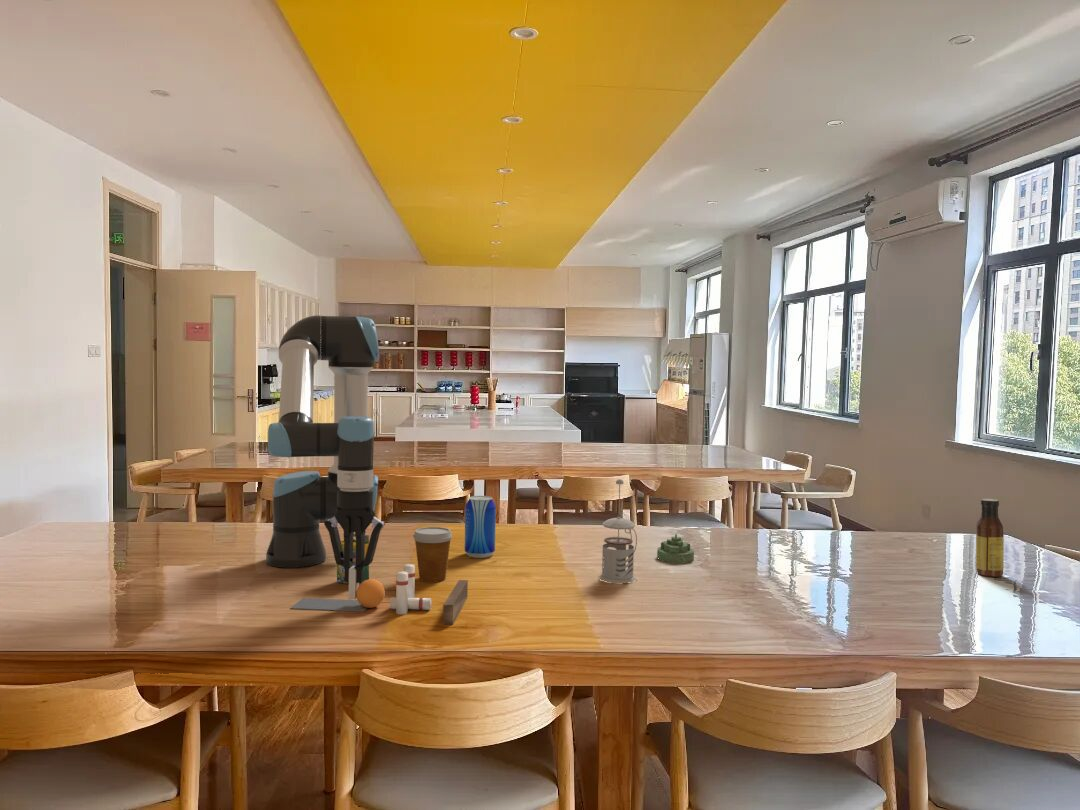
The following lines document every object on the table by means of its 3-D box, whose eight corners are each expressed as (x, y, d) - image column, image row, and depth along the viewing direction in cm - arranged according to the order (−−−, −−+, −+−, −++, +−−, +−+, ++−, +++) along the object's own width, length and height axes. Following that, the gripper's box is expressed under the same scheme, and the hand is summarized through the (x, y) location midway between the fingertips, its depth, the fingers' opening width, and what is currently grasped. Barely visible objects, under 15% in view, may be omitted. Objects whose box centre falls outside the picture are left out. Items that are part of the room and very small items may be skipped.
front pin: (389, 604, 162) (429, 605, 162) (391, 594, 164) (430, 595, 164) (390, 611, 164) (430, 612, 163) (392, 601, 166) (431, 602, 165)
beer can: (493, 559, 207) (494, 500, 206) (462, 558, 207) (463, 500, 207) (496, 551, 216) (496, 495, 215) (466, 550, 216) (467, 494, 215)
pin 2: (401, 605, 166) (402, 566, 166) (404, 601, 169) (404, 563, 168) (413, 605, 166) (413, 567, 166) (415, 602, 168) (416, 564, 168)
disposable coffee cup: (459, 576, 190) (459, 528, 189) (438, 586, 181) (438, 536, 180) (426, 571, 194) (427, 524, 193) (404, 581, 185) (405, 532, 184)
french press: (589, 578, 190) (591, 478, 189) (617, 569, 199) (620, 474, 197) (621, 586, 183) (623, 483, 182) (649, 577, 192) (651, 478, 191)
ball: (360, 577, 162) (380, 596, 160) (375, 570, 167) (394, 588, 166) (345, 598, 163) (365, 617, 162) (361, 590, 169) (380, 608, 167)
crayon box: (336, 583, 182) (336, 534, 182) (343, 579, 185) (343, 532, 185) (362, 586, 180) (362, 537, 179) (369, 583, 183) (369, 535, 182)
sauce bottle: (1005, 574, 200) (1009, 499, 199) (999, 579, 196) (1003, 502, 195) (977, 570, 205) (981, 496, 204) (971, 574, 200) (975, 499, 199)
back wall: (443, 624, 155) (443, 604, 154) (458, 597, 173) (458, 579, 172) (452, 624, 155) (453, 605, 154) (467, 597, 172) (467, 580, 172)
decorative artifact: (654, 561, 208) (691, 565, 205) (654, 536, 208) (691, 539, 205) (660, 553, 218) (695, 556, 215) (661, 529, 218) (696, 532, 214)
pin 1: (394, 614, 160) (394, 574, 160) (397, 610, 163) (397, 571, 162) (406, 614, 160) (406, 574, 160) (409, 611, 162) (409, 571, 162)
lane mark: (290, 608, 162) (290, 607, 162) (302, 598, 169) (302, 598, 169) (364, 611, 161) (364, 610, 161) (373, 601, 168) (373, 600, 168)
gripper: (319, 490, 160) (318, 601, 161) (379, 492, 160) (378, 603, 161) (331, 485, 168) (330, 590, 169) (389, 487, 167) (387, 593, 168)
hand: (353, 597), depth 165 cm, fingers closed
